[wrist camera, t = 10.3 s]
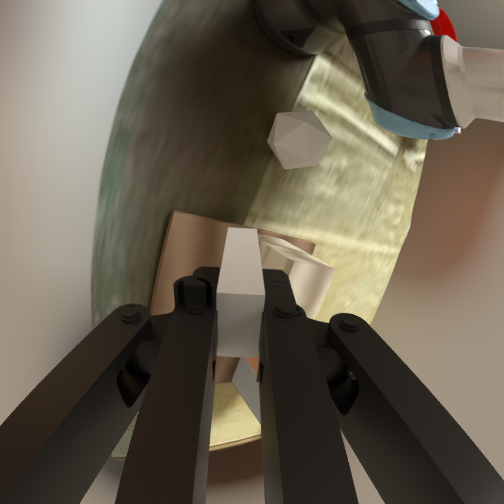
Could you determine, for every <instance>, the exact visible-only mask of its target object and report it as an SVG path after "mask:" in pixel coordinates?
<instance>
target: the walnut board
mask: <svg viewBox="0 0 504 504" xmlns="http://www.w3.org/2000/svg"><path fill="white" fill-rule="evenodd" d="M228 227H230V228H249V229H257V228H252V227H248V226H244V225H239V224H235V223H230V222H226V221H222V220H217V219H213V218H208V217H204V216H199V215H194V214H190V213H185V212H181V211H176V210H172V212H171V216H170V219H169V223H168V227H167V231H166V235H165V240H164V244H163V248H162V253H161V257H160V262H159V266H158V271H157V276H156V281H155V286H154V291H153V296H152V302H151V307H150V315H151V316H152V315H161V314H167V313H170V312H173V310H174V308H175V301H174V289H173V283H174V282H175V281H176V280H178V279H180V278H182V277H185V276H190V275H193V272H194V271H195V270H196V269H197V268H199V267H200V266H205V267H221V264H222V259H223V253H224V248H225V242H226V237H227V232H228ZM257 234H261V235H266V236H270V237H274V238H279V239H283V240H285V241H287V242H288V243H290V244H292V245H294V246H296V247H297V248H299V249H301V250H303V251H305V252H306V253H308V254H310V255H312V253H313V251H314V248H315V245H316V244H315V243H313V242H311V241H307V240H303V239H298V238H294V237H290V236H286V235H282V234H278V233H274V232H269V231H265V230H261V229H257ZM239 360H240V357H225V356H217V355H216V366H217V367H216V377H215V383H227V382H232V378H233V376H234V373H235V371H236V368H237V365H238V363H239Z"/></svg>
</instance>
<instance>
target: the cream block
mask: <svg viewBox="0 0 504 504" xmlns="http://www.w3.org/2000/svg"><path fill="white" fill-rule="evenodd" d="M258 241H259V249H260V257H261V265H262V269H279V270H283V271H284V272H285V273H286V274H287V275H288V277H289V280H290V283H291V288H292V290H293V293H294V297H295V300H296V304H298V305H299V306H300V307H302V308H303V309H304V311H305V312H306V316H307V317H308V318H316V315H317V313H318V311H319V308H320V306H321V304H322V301H323V299H324V296H325V294H326V292H327V289H328V287H329V284H330V282H331V279H332V277H333V274H334V272H335V268H333V267H331V266H329V265H328V264H326V263H324V262H322V261H321V260H319V259H317V258H315V257H313V256H312V255H310V254H308V253H306V252H305V251H303V250H301V249H299V248H297V247H296V246H294V245H292V244H290V243H288V242H287V241H285V240H283V239H279V238H274V237H270V236H266V235H261V234H258Z"/></svg>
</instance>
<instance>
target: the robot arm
mask: <svg viewBox="0 0 504 504" xmlns="http://www.w3.org/2000/svg"><path fill="white" fill-rule="evenodd" d="M254 9H255V15H256V18H257V21H258V23H259V25H260V26H261V28H262V30H263V31H264V32H265V34H266V35H267V36H268V37H269V38H270V39H271V40H272V41H273V42H274V43H276V44H277V45H278V46H280V47H281V48H283V49H285V50H287V51H289V52H291V53H294V54H297V55H304V56H309V55H315V54H318V53H321V52H324V51H326V50H328V49H330V48H331V47H332V46H333V45H334V44H336V43H337V42H338V41H339V40H340V39H342V38H343V37H344V36H345V35H347V37H348V40H349V43H350V46H351V49H352V51H353V54H354V57H355V60H356V63H357V66H358V69H359V73H360V76H361V79H362V82H363V86H364V89H365V93H364V95H365V98H366V100H367V101H368V103H369V107H370V110H371V114H372V117H373V119H374V121H375V122H376V123H377V124H378V125H379V126H380V127H381V128H382V129H384V130H386V131H388V132H391V133H393V134H396V135H400V136H404V137H409V138H415V139H424V140H427V139H429V138H432V139H436V140H439V139H446V138H449V137H451V136H452V135H453V134H454V132H455V130H456V127H459V128H466V127H467V126H468V125H469V124H470V123H471V122H472V120H473V119H475V118H483V119H489V120H495V121H501V122H504V50H497V49H487V48H473V47H462V46H460V45H459V44H458V43H457V42H455V41H454V40H453V39H452V38H450V37H449V36H447V35H434V33H433V30H432V27H431V24H430V21H429V20H434V19H435V18H437V17H438V16H439V9H438V3H437V1H436V0H255V4H254ZM173 289H174V301H175V308H174V310H173V312H170V313H167V314H161V315H152V316H151V315H150V311H149V309H148V308H147V307H145V306H143V305H139V304H126V305H123V306H120V307H118V308H117V309H115V310H114V311H113V312H112V313H111V314H110V315H109V316H107V317H106V318H105V319H104V320H103V321H102V322H101V323H100V324H99V325H98V326H97V327H96V328H95V329H94V330H93V331H91V332H90V334H88V335H87V336H86V337H85V338H84V339H83V340H82V341H81V342H80V343H79V344H78V345H77V346H76V347H75V348H74V349H73V350H72V351H71V352H70V353H69V354H68V355H67V356H66V357H65V358H64V359H63V360H62V361H61V362H60V363H59V364H58V365H57V366H56V367H55V368H54V369H53V370H52V371H51V372H50V373H49V374H48V375H47V376H46V377H45V378H44V379H43V380H42V381H41V382H40V383H39V384H38V385H37V386H36V387H35V388H34V389H33V390H32V391H31V393H30V394H29V395H28V396H27V397H26V398H25V399H24V400H23V401H22V402H21V403H20V404H19V406H18V407H17V408H16V409H15V410H14V411H13V412H12V413H11V414H10V416H9V417H8V418H7V419H6V420H5V421H4V422H3V423H2V425H1V426H0V504H80V502H81V500H82V499H83V497H84V495H85V494H86V492H87V491H88V489H89V488H90V486H91V484H92V483H93V481H94V480H95V478H96V476H97V475H98V473H99V472H100V470H101V469H102V467H103V465H104V464H105V462H106V461H107V459H108V458H109V456H110V454H111V453H112V451H113V450H114V448H115V447H116V445H117V443H118V442H119V440H120V439H121V437H122V436H123V434H124V433H125V431H126V429H127V428H128V426H129V425H130V423H131V422H132V420H133V419H134V417H135V415H136V414H137V412H138V411H139V414H138V417H137V420H136V424H135V427H134V431H133V434H132V438H131V441H130V445H129V449H128V452H127V456H126V460H125V464H124V467H123V471H122V475H121V480H120V484H119V488H118V492H117V497H116V501H115V504H205V501H206V485H207V470H208V456H209V444H210V432H211V420H212V409H213V398H214V387H215V377H216V367H217V366H216V355H217V356H225V357H245V358H258V355H259V364H258V372H257V380H256V382H259V397H260V416H261V435H262V455H263V472H264V473H263V474H264V493H265V504H358V499H357V495H356V491H355V486H354V483H353V478H352V474H351V470H350V466H349V462H348V458H347V454H346V450H345V446H344V443H343V439H342V435H341V431H340V429H341V430H342V433H343V434H344V436H345V437H346V439H347V441H348V443H349V444H350V446H351V448H352V449H353V451H354V453H355V454H356V456H357V458H358V459H359V461H360V463H361V464H362V466H363V468H364V469H365V471H366V473H367V474H368V476H369V478H370V479H371V481H372V483H373V484H374V486H375V488H376V489H377V491H378V493H379V494H380V496H381V498H382V499H383V501H384V502H385V504H504V480H503V479H502V478H501V476H500V475H499V474H498V473H497V471H496V470H495V469H494V467H493V466H492V465H491V463H490V462H489V461H488V460H487V458H486V457H485V456H484V455H483V453H482V452H481V451H480V450H479V448H478V447H477V446H476V445H475V444H474V442H473V441H472V440H471V439H470V437H469V436H468V435H467V434H466V433H465V431H464V430H463V429H462V428H461V427H460V425H459V424H458V423H457V422H456V421H455V420H454V418H453V417H452V416H451V415H450V414H449V412H448V411H447V410H446V409H445V408H444V407H443V406H442V405H441V403H440V402H439V401H438V400H437V399H436V398H435V397H434V395H433V394H432V393H431V392H430V391H429V390H428V388H427V387H426V386H425V385H424V384H423V383H422V382H421V381H420V380H419V378H418V377H417V376H416V375H415V374H414V373H413V372H412V371H411V370H410V368H409V367H408V366H407V365H406V364H405V363H404V362H403V361H402V360H401V359H400V358H399V356H398V355H397V354H396V353H395V352H394V351H393V350H392V349H391V348H390V347H389V346H388V345H387V343H385V341H384V340H383V339H382V338H381V337H380V336H379V335H378V334H377V333H376V332H375V331H374V330H373V329H372V328H371V327H370V325H369V324H368V323H367V322H366V321H364V320H363V319H362V318H361V317H358V316H356V315H354V314H349V313H339V314H336V315H333V316H332V317H331V318H330V321H329V323H325V322H320V321H316V320H313V319H310V318H308V317H307V316H306V312H305V311H304V309H303V308H302V307H300V306H299V305H298V304H296V300H295V297H294V293H293V290H292V288H291V283H290V280H289V277H288V275H287V274H286V273H285V272H284V271H283V270H279V269H262V265H261V257H260V249H259V241H258V234H257V229H249V228H230V227H228V232H227V237H226V242H225V248H224V253H223V259H222V264H221V267H205V266H200V267H199V268H197V269H196V270H195V271H194V272H193V275H190V276H185V277H182V278H180V279H178V280H176V281H175V282H174V283H173ZM139 409H140V410H139ZM339 427H340V428H339Z"/></svg>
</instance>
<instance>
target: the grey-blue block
mask: <svg viewBox="0 0 504 504" xmlns="http://www.w3.org/2000/svg"><path fill="white" fill-rule="evenodd" d="M256 380H257V373H256V372H255V371H254V369H253V368H252V367H251V365H250V364H249V363H248V361H247V360H246V359H245V357H240V360H239V363H238V365H237V368H236V371H235V373H234V376H233V378H232V383H233V384H234V386H235V387H236V389H237V390H238V392H239V393H240V395H241V396H242V398H243V399H244V401H245V402H246V404H247V405H248V407H249V408H250V410H251V411H252V413H253V414H254V416H255V417H256V418H257V420H258V421H259V423H260V424H261V416H260V397H259V382H256Z"/></svg>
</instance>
